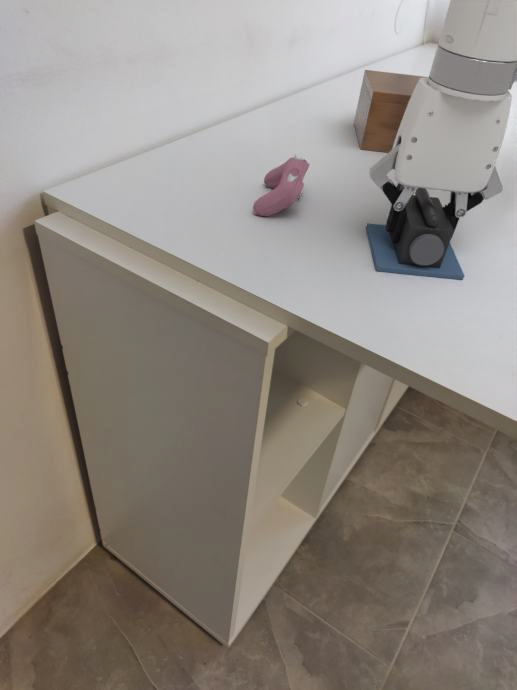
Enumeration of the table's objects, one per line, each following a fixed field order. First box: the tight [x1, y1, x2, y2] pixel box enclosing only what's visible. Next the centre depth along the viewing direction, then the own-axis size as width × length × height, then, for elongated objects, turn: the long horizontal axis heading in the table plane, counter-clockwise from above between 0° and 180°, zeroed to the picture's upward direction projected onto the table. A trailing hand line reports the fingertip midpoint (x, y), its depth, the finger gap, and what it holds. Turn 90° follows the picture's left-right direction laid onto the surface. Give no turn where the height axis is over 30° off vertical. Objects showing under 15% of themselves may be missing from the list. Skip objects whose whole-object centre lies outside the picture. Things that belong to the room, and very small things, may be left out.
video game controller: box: [252, 154, 310, 217], centre depth 69 cm, size 10×5×7 cm, turn 170°
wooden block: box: [353, 69, 429, 153], centre depth 89 cm, size 12×12×9 cm
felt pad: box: [365, 222, 465, 281], centre depth 64 cm, size 10×10×1 cm
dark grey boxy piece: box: [393, 188, 455, 268], centre depth 62 cm, size 5×10×6 cm, turn 178°
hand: (416, 238), depth 63 cm, fingers closed on dark grey boxy piece, 4 cm apart
